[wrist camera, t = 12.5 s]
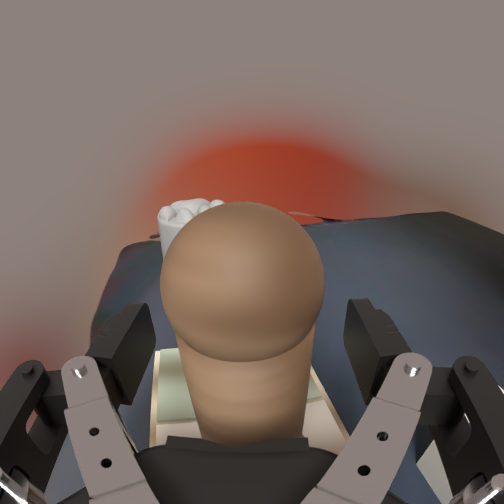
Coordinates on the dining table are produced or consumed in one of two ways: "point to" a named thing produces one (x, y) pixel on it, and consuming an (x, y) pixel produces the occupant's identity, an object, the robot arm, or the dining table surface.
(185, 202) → the lumpy-topped squat cylinder
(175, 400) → the game board
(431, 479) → the die
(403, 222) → the dining table surface
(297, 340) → the pawn
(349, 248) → the dining table surface
